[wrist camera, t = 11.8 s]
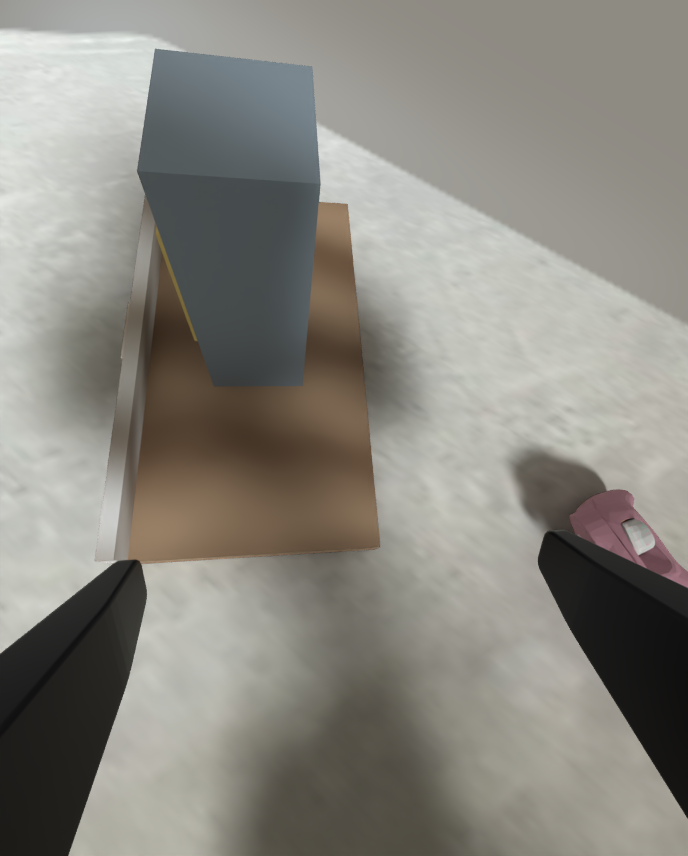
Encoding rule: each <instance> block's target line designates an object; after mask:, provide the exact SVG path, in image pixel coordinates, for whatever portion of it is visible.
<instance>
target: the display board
mask: <svg viewBox="0 0 688 856" xmlns="http://www.w3.org/2000/svg"><path fill="white" fill-rule="evenodd" d="M155 233H156V223H155V220H154V217H153V214H152V211H151V209H150V206H149V203H148V200H147V197H146V195H145V199H144V206H143V213H142V221H141V228H140V235H139V242H138V250H137V257H136V264H135V271H134V279H133V286H132V293H131V300H130V303H128V307H127V314H126V321H125V328H124V336H123V343H122V350H121V357H120V358H121V359H122V365H121V373H120V380H119V387H118V394H117V402H116V409H115V416H114V423H113V431H112V438H111V445H110V452H109V460H108V467H107V474H106V481H105V489H104V496H103V503H102V510H101V518H100V525H99V532H98V539H97V547H96V554H95V561H96V562H104V563H111V564H114V563H115V562H117V561H120V560H133V559H137V560H139V561H140V563H141V564H147V563H163V562H179V561H196V560H212V559H228V558H245V557H261V556H277V555H293V554H310V553H326V552H342V551H358V550H374V549H377V548H379V547H380V539H379V529H378V518H377V508H376V497H375V487H374V476H373V466H372V455H371V445H370V434H369V424H368V413H367V403H366V392H365V382H364V371H363V361H362V350H361V340H360V329H359V319H358V308H357V298H356V287H355V277H354V266H353V255H352V245H351V234H350V224H349V213H348V204H340V203H325V202H319V206H318V217H317V228H316V240H315V251H314V262H313V273H312V285H311V296H310V307H309V319H308V330H307V341H306V352H305V364H304V375H303V386H213V383H212V380H211V377H210V374H209V371H208V369H207V366H206V363H205V360H204V357H203V355H202V352H201V349H200V346H199V343H198V341H195V340H194V338H193V335H192V332H191V330H190V327H189V324H188V321H187V319H186V316H185V313H184V311H183V308H182V305H181V302H180V300H179V297H178V294H177V292H176V289H175V286H174V283H173V281H172V278H171V275H170V273H169V270H168V267H167V264H166V262H165V259H164V256H163V254H162V251H161V248H160V245H159V243H158V240H157V237H156V235H155Z"/></svg>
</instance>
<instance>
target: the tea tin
mask: <svg viewBox="0 0 688 856" xmlns="http://www.w3.org/2000/svg"><path fill="white" fill-rule="evenodd" d="M137 172H138V175H139V178H140V181H141V183H142V186H143V189H144V192H145V195H146V197H147V200H148V203H149V206H150V209H151V211H152V214H153V217H154V220H155V223H156V233H155V235H156V237H157V240H158V243H159V245H160V248H161V251H162V254H163V256H164V259H165V262H166V264H167V267H168V270H169V273H170V275H171V278H172V281H173V283H174V286H175V289H176V292H177V294H178V297H179V300H180V302H181V305H182V308H183V311H184V313H185V316H186V319H187V321H188V324H189V327H190V330H191V332H192V335H193V338H194V340H195V341H198V343H199V346H200V349H201V352H202V355H203V357H204V360H205V363H206V366H207V369H208V371H209V374H210V377H211V380H212V383H213V386H303V375H304V364H305V352H306V341H307V330H308V319H309V307H310V296H311V285H312V273H313V262H314V251H315V240H316V228H317V217H318V206H319V194H320V171H319V156H318V142H317V128H316V114H315V99H314V86H313V70H312V66H303V65H294V64H284V63H276V62H267V61H259V60H250V59H241V58H231V57H223V56H214V55H205V54H197V53H188V52H179V51H170V50H161V49H155V53H154V60H153V66H152V73H151V80H150V87H149V94H148V100H147V107H146V114H145V121H144V128H143V135H142V141H141V148H140V155H139V162H138V169H137Z"/></svg>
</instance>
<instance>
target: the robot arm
mask: <svg viewBox="0 0 688 856" xmlns="http://www.w3.org/2000/svg"><path fill="white" fill-rule="evenodd" d="M538 565H539V569H540V571H541V573H542V575H543V577H544V579H545V581H546V583H547V585H548V587H549V589H550V591H551V593H552V595H553V597H554V599H555V601H556V603H557V605H558V607H559V609H560V611H561V613H562V615H563V617H564V619H565V621H566V622H567V624H568V626H569V628H570V630H571V632H572V633H573V635H574V637H575V638H576V640H577V642H578V643H579V645H580V646H581V648H582V650H583V651H584V653H585V654H586V656H587V658H588V659H589V661H590V663H591V664H592V666H593V667H594V669H595V671H596V672H597V674H598V675H599V677H600V679H601V680H602V682H603V683H604V685H605V687H606V688H607V690H608V691H609V693H610V695H611V696H612V698H613V699H614V701H615V703H616V704H617V706H618V708H619V709H620V711H621V712H622V714H623V716H624V717H625V719H626V720H627V722H628V724H629V725H630V727H631V728H632V730H633V732H634V733H635V735H636V736H637V738H638V740H639V741H640V743H641V744H642V746H643V748H644V749H645V751H646V752H647V754H648V756H649V757H650V759H651V761H652V762H653V764H654V765H655V767H656V769H657V770H658V772H659V773H660V775H661V777H662V778H663V780H664V781H665V783H666V785H667V786H668V788H669V789H670V791H671V793H672V794H673V796H674V797H675V799H676V801H677V802H678V804H679V806H680V807H681V809H682V810H683V812H684V814H685V815H686V817H687V818H688V588H687V587H685V586H683V585H681V584H679V583H677V582H675V581H672V580H670V579H668V578H666V577H664V576H662V575H660V574H658V573H655V572H653V571H651V570H649V569H647V568H645V567H643V566H641V565H639V564H636V563H634V562H632V561H630V560H628V559H626V558H624V557H622V556H620V555H617V554H615V553H613V552H611V551H609V550H607V549H605V548H603V547H600V546H598V545H596V544H594V543H592V542H590V541H588V540H586V539H584V538H581V537H579V536H577V535H575V534H573V533H571V532H569V531H566V530H550V531H547V532H546V533H545V535H544V538H543V541H542V545H541V549H540V552H539V556H538ZM146 599H147V589H146V584H145V579H144V575H143V570H142V565H141V563H140V561H139V560H137V559H133V560H120V561H117V562H115V563H114V564H112V565H111V566H110V567H108V568H107V569H106V570H105V571H103V572H102V573H101V574H100V575H98V576H97V577H96V578H95V579H93V580H92V581H91V582H90V583H88V584H87V585H86V586H85V587H83V588H82V589H81V590H80V591H78V592H77V593H76V594H75V595H73V596H72V597H71V598H70V599H68V600H67V601H66V602H65V603H63V604H62V605H61V606H59V607H58V608H57V609H56V610H54V611H53V612H52V613H51V614H49V615H48V616H47V617H46V618H44V619H43V620H42V621H41V622H39V623H38V624H37V625H36V626H34V627H33V628H32V629H31V630H29V631H28V632H27V633H26V634H24V635H23V636H22V637H21V638H19V639H18V640H17V641H15V642H14V643H13V644H12V645H10V646H9V647H8V648H7V649H5V650H4V651H3V652H2V653H0V856H68V855H69V852H70V849H71V846H72V843H73V840H74V837H75V835H76V832H77V829H78V826H79V823H80V820H81V817H82V814H83V811H84V808H85V805H86V802H87V799H88V797H89V794H90V791H91V788H92V785H93V782H94V779H95V776H96V773H97V770H98V767H99V764H100V761H101V759H102V756H103V753H104V750H105V747H106V744H107V741H108V738H109V735H110V732H111V729H112V726H113V723H114V720H115V718H116V715H117V712H118V709H119V706H120V703H121V700H122V697H123V694H124V691H125V688H126V685H127V682H128V678H129V675H130V671H131V667H132V662H133V658H134V654H135V649H136V645H137V640H138V636H139V631H140V627H141V623H142V618H143V614H144V609H145V605H146Z"/></svg>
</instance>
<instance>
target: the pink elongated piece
mask: <svg viewBox="0 0 688 856" xmlns="http://www.w3.org/2000/svg"><path fill="white" fill-rule="evenodd" d="M633 504H634V498H633V496H632V494H631V493H629V492H628V491H625V490H610V491H606V492H603V493H600V494H596V495H594V496H592V497H591V498H589V499H587V500H586V501H585V502H584V503H582V504H581V505H580V506H579V507H578V508H577V510H576V512H575V513H573V514H571V515H570V516H569V517H570V521H571V525H572V527H573V529H574V532H575V534H576V535H577V536H579V537H581V538H584V539H586V540H588V541H590V542H592V543H594V544H596V545H598V546H600V547H603V548H605V549H607V550H609V551H611V552H613V553H615V554H617V555H620V556H622V557H624V558H626V559H628V560H630V561H632V562H634V563H636V564H639V565H641V566H643V567H645V568H647V569H649V570H651V571H653V572H655V573H658V574H660V575H662V576H664V577H666V578H668V579H670V580H672V581H675V582H677V583H679V584H681V585H683V586H685V587H687V588H688V572H687V571H686V570H685V569H684V568H682V567H681V566H680V565H679V564H678V563H677V562H676V560H675V559H674V558H673V557H672V556H671V554H670V553H669V551H668V550H667V549H666V547H665V546H664V544H663V543H662V542H661V540H660V539H659V537H658V536H657V535H656V533H655V532H654V531H653V530H652V529H651V527H650V526H649V525H648V524H647V523H646V521H645V520H644V519H643V518H642V517H641V516H640V514H639V513H638V512H637V511H636V510H635V509H634V508H633Z"/></svg>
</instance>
